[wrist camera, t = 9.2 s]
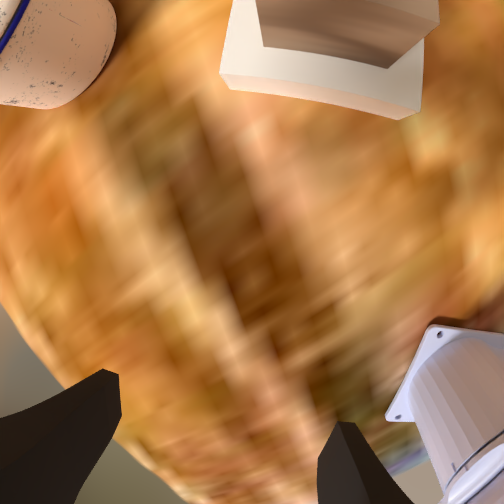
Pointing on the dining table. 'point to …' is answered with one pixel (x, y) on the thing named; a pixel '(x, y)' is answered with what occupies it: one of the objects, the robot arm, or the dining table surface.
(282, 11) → the walnut cube
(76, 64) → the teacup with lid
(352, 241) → the dining table surface
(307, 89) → the cream block
